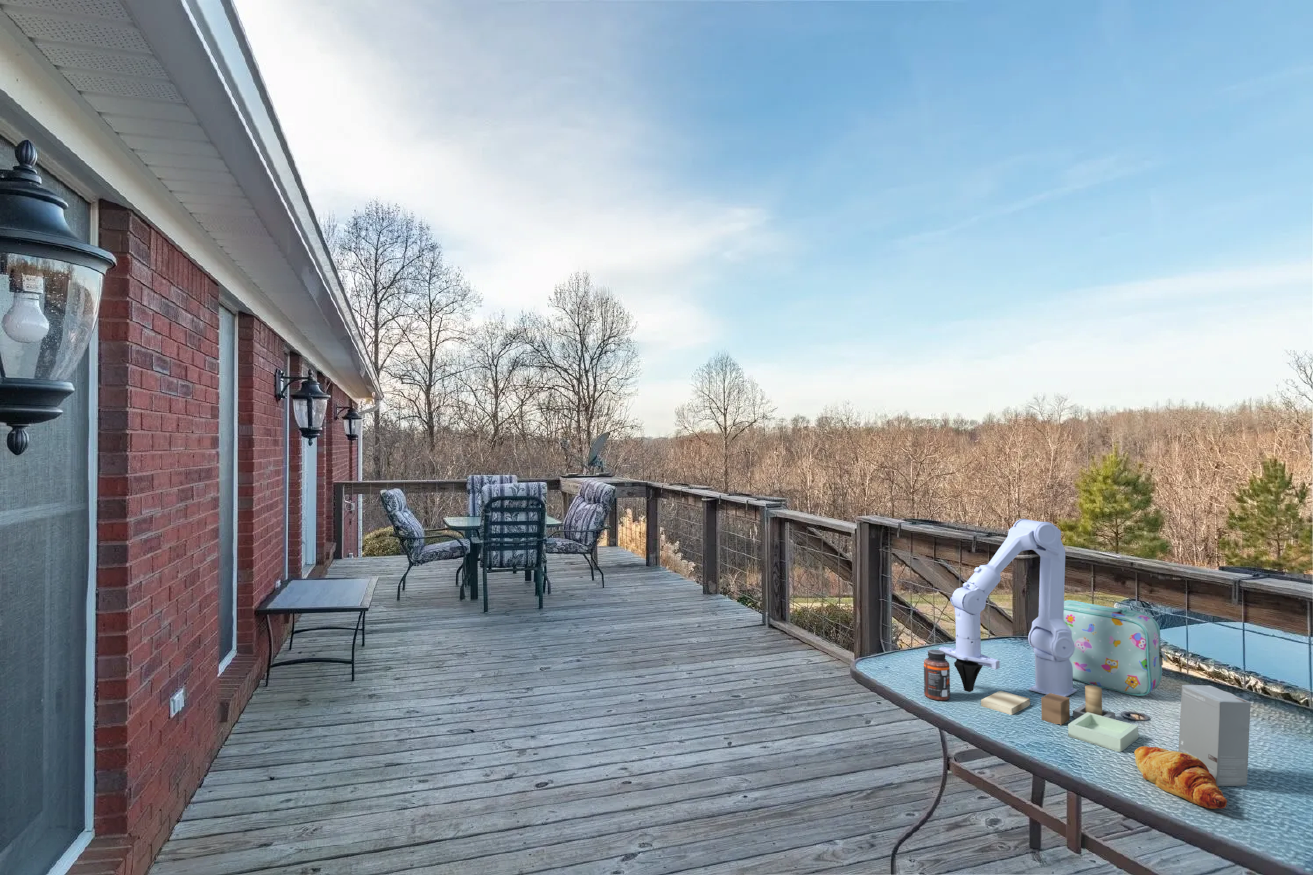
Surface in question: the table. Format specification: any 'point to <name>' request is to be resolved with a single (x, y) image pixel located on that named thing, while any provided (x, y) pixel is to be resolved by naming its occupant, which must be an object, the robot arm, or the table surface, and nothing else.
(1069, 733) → the tray
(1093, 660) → the lunch box
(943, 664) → the supplement bottle
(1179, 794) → the croissant
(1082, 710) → the dowel socket
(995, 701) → the cream flat block
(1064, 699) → the brown block
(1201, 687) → the skincare box
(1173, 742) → the table surface
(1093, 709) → the dowel
